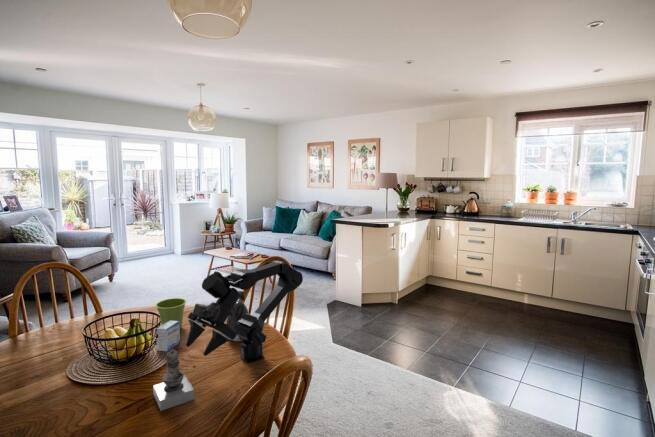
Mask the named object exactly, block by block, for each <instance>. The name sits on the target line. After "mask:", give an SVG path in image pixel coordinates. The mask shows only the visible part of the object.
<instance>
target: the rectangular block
mask: <svg viewBox="0 0 655 437" xmlns="http://www.w3.org/2000/svg"><path fill="white" fill-rule="evenodd" d="M182 383H183V384H184V387H183V388H182V389H181V390H179V391H177V392H173V393H167V392H165V391H164V388H165V386H166V385H165V383H164V381H163V382H160V383H156V384H153V388H152V389H153V390H152V391H153V397H154V399H155V402H156V404H157V406H158V408H159V411H160V412H162V411H164V410H167V409H171V408H173V407H176V406H179V405H182V404H185V403H189V402H190V401H193V400H195V388H193V386H192V384H191V383H190V381H189V380H188V378H187V376H186V375H184V376H183V380H182Z"/></svg>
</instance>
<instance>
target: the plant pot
mask: <svg viewBox="0 0 655 437" xmlns="http://www.w3.org/2000/svg"><path fill="white" fill-rule="evenodd" d="M186 303H187V299H185V298H181V297H179V298H178V297H174V298H173V297H172V298H167V299H163V300H160V301H158V302H157V303H155V308H157V312H158V314H159V319H160V322H161V326H162V325H163V324H165V323H166V322H168V321H179V330H180V329H182V327H183V321H184V312H185V311H184V310H185V305H186Z"/></svg>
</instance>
